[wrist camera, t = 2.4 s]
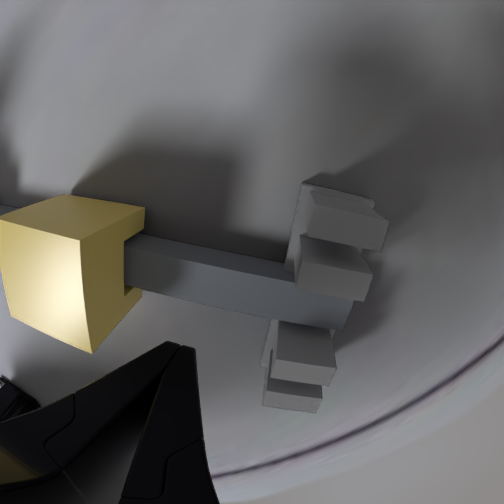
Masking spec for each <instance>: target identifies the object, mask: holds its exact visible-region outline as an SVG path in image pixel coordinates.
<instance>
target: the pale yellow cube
mask: <svg viewBox="0 0 504 504" xmlns="http://www.w3.org/2000/svg"><path fill="white" fill-rule="evenodd" d="M144 218H145V207H140V206H134V205H128V204H122V203H116V202H110V201H104V200H98V199H92V198H85V197H79V196H73V195H66V194H63V195H60V196H57V197H53V198H50V199H47V200H44V201H41V202H38V203H35V204H32V205H29V206H26V207H23V208H20V209H18V210H15V211H12V212H9V213H7V214H4V215H1V216H0V268H1V273H2V279H3V284H4V289H5V294H6V298H7V302H8V307H9V311H10V315H11V316H12V317H14V318H16V319H18V320H20V321H22V322H23V323H25V324H27V325H29V326H31V327H33V328H35V329H37V330H39V331H41V332H43V333H45V334H47V335H50V336H52V337H54V338H56V339H58V340H60V341H62V342H65V343H67V344H69V345H71V346H74V347H76V348H78V349H81V350H83V351H86V352H88V353H91V354H93V352H94V351H95V350H96V349H97V348H98V347H99V345H100V344H101V343H102V342H103V341H104V339H105V338H106V337H107V336H108V335H109V334H110V333H111V331H112V330H113V329H114V328H115V327H116V326H117V324H118V323H119V322H120V321H121V320H122V319H123V318H124V316H125V315H126V314H127V313H128V312H129V311H130V310H131V309H132V307H133V306H134V305H135V304H136V303H137V302H138V301H139V300H140V299H141V297H142V289H140V288H137V287H133V286H129V285H126V284H124V241H125V240H127V239H128V238H130V237H131V236H133V235H135V234H136V233H138V232H139V231H141V230H143V229H144Z"/></svg>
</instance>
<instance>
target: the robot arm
mask: <svg viewBox="0 0 504 504" xmlns="http://www.w3.org/2000/svg"><path fill="white" fill-rule="evenodd" d="M0 386H1V388H0V504H220V503H219V500H218V497H217V494H216V492H215V489H214V485H213V482H212V479H211V475H210V472H209V467H208V462H207V457H206V450H205V442H204V435H203V426H202V417H201V408H200V398H199V387H198V375H197V362H196V350H195V348H193V347H189V346H185V345H182V346H180V344H177V343H174V342H170V341H166V342H164V343H162V344H160V345H159V346H157V347H155V348H153V349H152V350H150V351H148V352H146V353H144V354H143V355H141V356H139V357H137V358H136V359H134V360H132V361H130V362H128V363H127V364H125V365H123V366H121V367H119V368H118V369H116V370H114V371H112V372H110V373H108V374H107V375H105V376H103V377H101V378H99V379H97V380H95V381H94V382H92V383H90V384H88V385H86V386H84V387H82V388H80V389H79V390H77V391H75V393H71V394H69V395H67V396H65V397H63V398H61V399H59V400H57V401H55V402H53V403H51V404H49V405H46V406H44V407H41V408H40V407H39V405H38V403H37V402H36V401H35V400H34V399H32V398H31V397H29V396H28V395H26V394H25V393H23V392H21V391H20V390H18V389H17V388H15V387H14V386H12V385H11V384H10V383H8V382H7V381H5V380H4V379H2V378H1V377H0Z"/></svg>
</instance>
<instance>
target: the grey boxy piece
mask: <svg viewBox="0 0 504 504" xmlns="http://www.w3.org/2000/svg"><path fill="white" fill-rule="evenodd" d="M374 205H375V202H374V201H373V200H371V199H369V198H365V197H361V196H357V195H353V194H349V193H345V192H341V191H337V190H333V189H328V188H324V187H320V186H315V185H311V184H306V183H301V187H300V192H299V197H298V202H297V207H296V211H295V216H294V221H293V225H292V230H291V234H290V239H289V243H288V248H287V252H286V257H285V261H284V270H285V271H290V272H295V289H297V290H302V291H307V292H313V293H318V294H323V295H328V296H334V297H339V298H345V299H350V300H356V301H361V302H364V301H365V298H366V295H367V292H368V289H369V287H370V284H371V281H372V278H373V274H372V272H371V271H370V269H369V267H368V266H367V264H366V263H365V261H364V259H363V258H362V256H361V253H362V249H363V248H364V249H368V250H373V251H377V252H381V250H382V247H383V243H384V240H385V237H386V233H387V230H388V226H389V221H387V220H386V219H385V218H383V217H382V216H381V215H380V214H378V213H377V212H376V211H374V210H373V209H374ZM334 333H335V330H332V329H326V328H320V327H314V326H308V325H302V324H297V323H291V322H286V321H281V320H275V319H271V320H270V324H269V329H268V333H267V337H266V341H265V344H264V348H263V352H262V356H261V363H260V367H265V368H266V374H265V383H264V391H263V399H262V406H268V407H274V408H280V409H287V410H294V411H302V412H310V413H316V411H317V409H318V407H319V405H320V403H321V401H322V399H323V398H322V387H321V385H324V386H329V384H330V382H331V380H332V378H333V376H334V374H335V372H336V369H337V366H336V360H335V355H334V349H333V344H332V338H333V336H334Z"/></svg>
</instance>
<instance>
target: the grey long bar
mask: <svg viewBox="0 0 504 504" xmlns="http://www.w3.org/2000/svg"><path fill="white" fill-rule="evenodd" d="M18 209H20V208H15V207H10V206H6V205H1V204H0V216H1V215H4V214H7V213H9V212H12V211H15V210H18ZM124 284H126V285H129V286H133V287H137V288H140V289H144V290H148V291H152V292H156V293H159V294H163V295H167V296H171V297H175V298H179V299H183V300H188V301H192V302H196V303H200V304H205V305H209V306H213V307H218V308H222V309H227V310H231V311H236V312H241V313H246V314H250V315H255V316H260V317H265V318H270V319H275V320H281V321H286V322H291V323H297V324H302V325H308V326H314V327H320V328H326V329H332V330H338V331H343V330H344V327H345V324H346V322H347V319H348V316H349V314H350V311H351V308H352V305H353V303H354V300H350V299H345V298H339V297H334V296H328V295H323V294H318V293H313V292H307V291H302V290H297V289H295V272H290V271H285V270H284V263H280V262H275V261H270V260H265V259H261V258H256V257H251V256H246V255H241V254H236V253H231V252H226V251H221V250H216V249H211V248H206V247H202V246H197V245H192V244H187V243H182V242H177V241H172V240H167V239H163V238H158V237H153V236H148V235H143V234H138V233H136V234H135V235H133V236H131V237H130V238H128V239H127V240H125V241H124Z"/></svg>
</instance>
